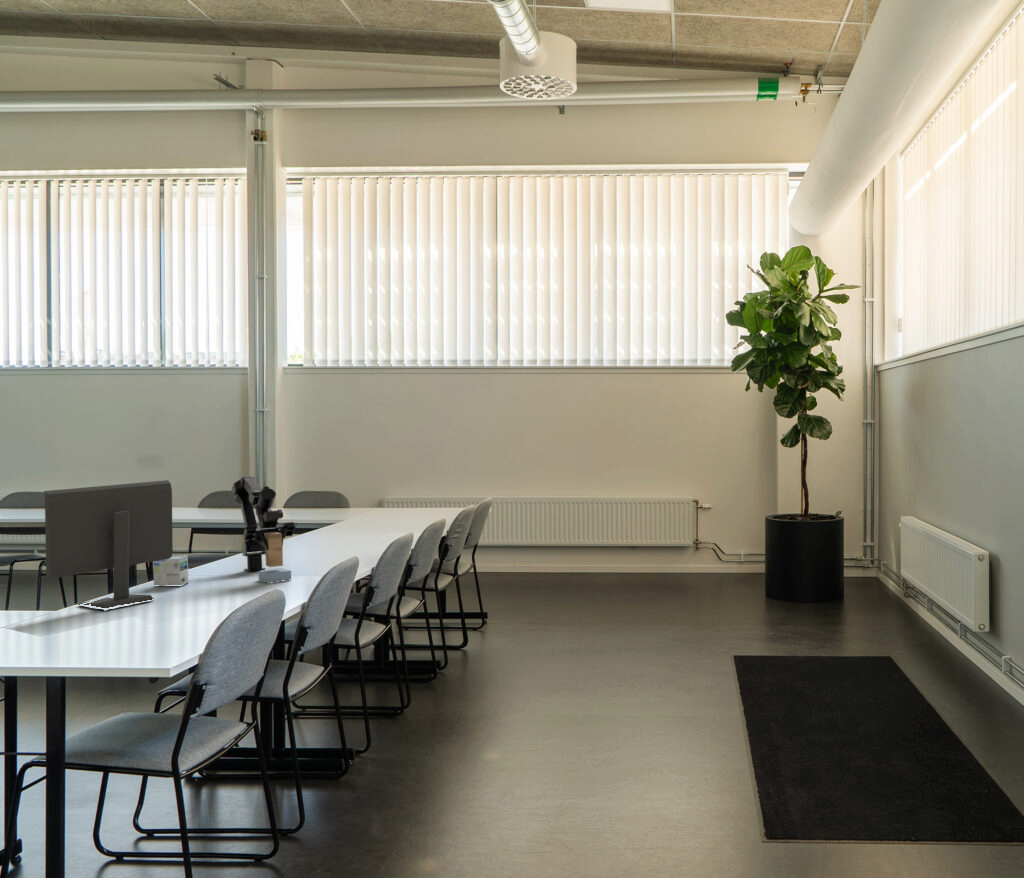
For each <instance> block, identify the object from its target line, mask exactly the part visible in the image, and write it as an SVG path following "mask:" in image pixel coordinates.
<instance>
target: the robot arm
mask: <svg viewBox="0 0 1024 878" xmlns="http://www.w3.org/2000/svg"><path fill="white" fill-rule="evenodd" d="M231 495H233V497H234V500H235V502H236V503H238V504H239V505H240V509H241V513H242V518H243V523H244V530H243V536H242V537H243V539H244V541H243V545H242V549H241V554H242V556H243V557H246V560H247V561H246V563H247V565H246V566H247V568H244V569H243V570H244V571H247V572H251V573H252V572H253V573H254V572H258V571H259V570H260V571H261V570H265V569H266V568H265V567H263V556H262V555H265V549H266V550H268V544H267V541H266V539H265V534H266V533H277V532H278V533H281V534H282V548H283V546H284V539H285V538H286V537H292V536H293V535H294V532H295V530H296V527H297V526H296V522H294V521H288V522H283V525H282V526H278V525H279V521H278V520H279V519H280V520H281V519H283V517H284V512H283V510H282V509H281V508H279V509H277V510H273V509H272V508H273V506H274V502H275V499H276V495H277V493H276V491H275V490H274V489H272V488H270V486H268V485H267V486H263V487H261V486H260V485H259V484H258V483H257V481H256V480H255V477H254V476H250V475H249V476H242V477H240V479H238V480H237V481H235V482H234V483H233V485H232V487H231ZM254 506H255V509H254ZM254 510H255V511H254ZM256 517H257V519H256ZM257 520H258V524H257ZM266 570H267V569H266Z"/></svg>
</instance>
